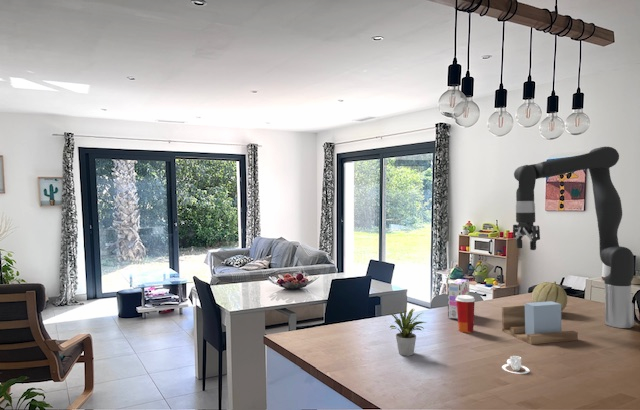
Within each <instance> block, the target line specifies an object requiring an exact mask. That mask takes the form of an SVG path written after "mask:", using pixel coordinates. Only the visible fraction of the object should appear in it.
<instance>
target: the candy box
mask: <svg viewBox="0 0 640 410" xmlns="http://www.w3.org/2000/svg"><path fill="white" fill-rule="evenodd" d="M458 295H469V296H470V279H463V278H457V279H455V280H452V281H450V282H448V283H447V319H450V320H456V321H458V314H457V301H456V300H455V299H456V297H457V296H458Z"/></svg>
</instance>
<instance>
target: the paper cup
mask: <svg viewBox="0 0 640 410" xmlns="http://www.w3.org/2000/svg"><path fill="white" fill-rule="evenodd" d="M455 300H456V301H457V314H458V320H457V322H458V325H457V326H458V331H459V332H460V333H464V334H465V333H466V334H470V333H473V332H474V327H475V326H474V325H475V324H474V323H475V304H476V303H475V302H476V299H475V297H474V296H473V295H470V294H469V295H458V296H457V297H456V299H455Z"/></svg>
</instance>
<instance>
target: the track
mask: <svg viewBox="0 0 640 410" xmlns="http://www.w3.org/2000/svg"><path fill="white" fill-rule="evenodd" d="M501 322H502V323H501V326H502V327H501V328H502V329H501V330H502V332H503V331H504V333H506V334H508V335H510V336H512V337H514V338H517V339H518V340H521V341H523V342H525V343H527V344H530V345H539V344H546V343H547V344H548V343H550V344H551V343H558V342H571V341H572V342H573V341H578V339H579V338H578V337H579V334H578V331H576V330H565V331H562V332H551V333H539V334H528V335H526V334H525V304H519V305H518V304H517V305H516V304H515V305H502V306H501Z"/></svg>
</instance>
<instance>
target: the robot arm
mask: <svg viewBox="0 0 640 410" xmlns="http://www.w3.org/2000/svg"><path fill="white" fill-rule="evenodd" d="M619 159H620V153H619V152H618V150H617V149H615V147H611V146H599V147H596V148H593V149H591V150H590V151H589V152H587V153H583V154H580V155H579V154H578V155H574V156H569V157H568V156H566V157H561V158H556V159H549V160H545V161H542V162H537V163H534V164H525V165H521V166H519V167H517V168H515V170H514V172H513V177H514V179H515V180H516V181H517V182H518V186H517V188H516V191H515V192H516V193H515V195H516V196H515V197H516V199H515V200H516V202H515V222H516V223H517V224H513V225H512V237H513V239H515V240H516V248H517V249H523V237H525V236H526V237H527V238H528V239H529V250H530V251H536V249H537V241H539V240H541V234H540V233H541V232H540V231H541V230H540V226H539V225H534V223H536V203H535V186H536V181H537V180H539V179H544V178H551V177H552V178H553V177H556V176H557V177H558V176H562V175H565V174H569V173H573V172H578V171H582V170H589V175H590V179H591V184H592V191H593V200H594V208H595V215H596V218H597V220H596V221H597V228H598V237H599V241H598V242H599V244H598V245H599V257H600V261H601V263H602V264H603V265H605V266H607V267H609V268H610V273H609V274H608V275H605V276H604V282H603V283H604V284H603V285H604V320H605V321H604V323H605V325H607V326H609V327H612V328H619V329H631V328H632V327H635V310H634V309H635V308H634V303H633V302H632V281H633V279H634V276H635V275H634V273H635V257H634V253H633V252H632V250H631V249H630V248H628V247H625V246H621V245H619V243H620V242H619V238H618V230H619V227H620V224H621V222H622V219H623V208H622V200H621V197H620V195H619V192H618V190H617V189H616V188H615V185H614V184H613V182H612V178H611V168H612V167H614V166H616V164H617V163H619V162H618V161H619Z"/></svg>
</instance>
